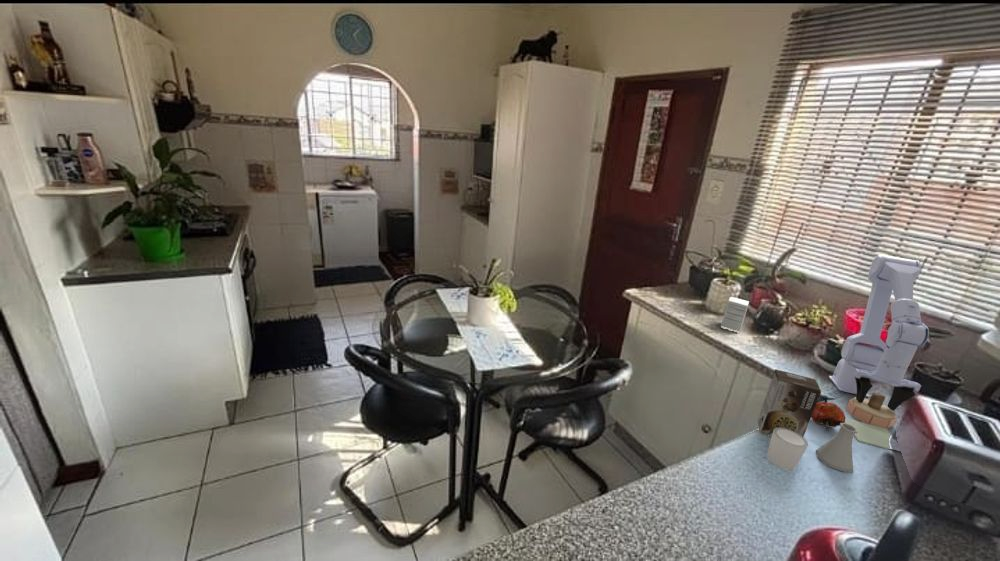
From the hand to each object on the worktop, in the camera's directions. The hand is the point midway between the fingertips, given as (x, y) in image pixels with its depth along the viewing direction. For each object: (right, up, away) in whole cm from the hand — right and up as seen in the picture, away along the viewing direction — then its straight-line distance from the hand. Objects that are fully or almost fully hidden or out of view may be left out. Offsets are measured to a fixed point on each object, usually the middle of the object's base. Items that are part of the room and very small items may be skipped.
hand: (874, 404), depth 118 cm
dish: (0, -4, +1) cm, 4 cm away
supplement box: (-10, +15, +56) cm, 59 cm away
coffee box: (-35, -4, -11) cm, 37 cm away
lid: (0, -1, 0) cm, 1 cm away
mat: (-7, -6, -7) cm, 12 cm away
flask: (-27, -8, -19) cm, 34 cm away
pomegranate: (-19, -4, -5) cm, 20 cm away
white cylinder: (-41, -7, -21) cm, 47 cm away
